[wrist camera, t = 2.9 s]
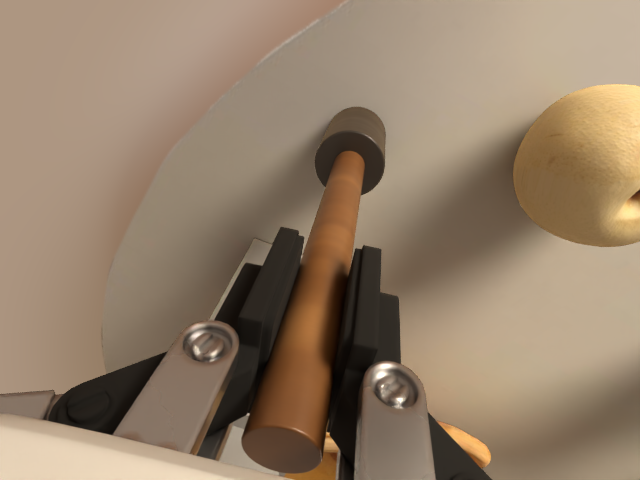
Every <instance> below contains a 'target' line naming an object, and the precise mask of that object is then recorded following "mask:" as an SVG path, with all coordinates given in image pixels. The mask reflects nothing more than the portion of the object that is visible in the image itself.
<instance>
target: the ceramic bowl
mask: <svg viewBox="0 0 640 480" xmlns="http://www.w3.org/2000/svg"><path fill="white" fill-rule="evenodd" d="M437 422H438V423H439V424H440V425H441V426H442V428H443V429H444V430H445V431H446V432H447V433H448V434H449V435H450V436H451V437H452V438H453V439H454V440H455V441H456V442H457V443H458V444H459V445H460V446H461V448H462V449H463V450H464V451H465V452H466V453H467V454H468V455H469V456H470V457H471V458H472V459H473V460H474V461H475V462H476V463H477V464H478V465H479V467H480V468H483V467H485V466H487V465H488V464H489V462H490V459H491V456H490V451H489V450H488V448H487V446H486V445H485V444H484V443H482V442H481V441H479V440H478V439H476V438H474V437H473V436H471V435H469V434H467V433H466V432H464V431H462V430H460V429H458V428H456V427H454V426H452V425H449V424H446V423H443V422H439V421H437ZM327 426H328V425H327ZM329 434H330V433H328V432H326V438H325V445H324V452H323V458H322V461H321V463H320V464H319V465H318V466H317V467H316V468H315V469H313V470H311V471H309V472H305V473H299V474H289V473H286V474H285V476H284V477H285V478H289V479H293V480H335V476H336V464H337V454H338V450H339V448H338V446H337V445H336V444H335V442H334V441H333V439H332V438H331V437H330V435H329Z"/></svg>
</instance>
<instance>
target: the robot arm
mask: <svg viewBox="0 0 640 480" xmlns="http://www.w3.org/2000/svg"><path fill="white" fill-rule="evenodd" d="M298 234H299V231H298V230H293V229H289V228H284V227H281V228H280V230H279V232H278V234H277V236H276V238H275V240H274V242H273V245H272V247H271V249H270V251H269V253H268V255H267V257H266V259H265V261H264V264H263V266H261V265H257V264H252V263H248V262H246V263H245V264H244V266H243V267H242V269H241V271H240V273H239V275H238V277H237V278H236V280H235V282H234V284H233V286H232V288H231V290H230V291H229V293H228V295H227V297H226V299H225V301H224V302H223V304H222V306H221V308H220V310H219V312H218V313H217V315H216V317H215V319H214V320H206V321H200V322H197V323H193V324H191V325H190V326H188V327H186V328H185V329H184V330H183V331H182V332H181V333H180V334H179V335H178V337H177V338H176V340H175V341H174V343H173V344H172V346H171V347H170V349H169V350H168V351H167V352H165V353H162V354H159V355H157V356H154V357H151V358H149V359H146V360H143V361H141V362H138V363H135V364H132V365H130V366H127V367H124V368H122V369H119V370H116V371H114V372H111V373H108V374H106V375H103V376H100V377H98V378H95V379H92V380H90V381H87V382H84V383H82V384H80V385H78V386H76V387H73V388H71V389H70V390H69V391H67V392H66V393H65V394H59V395H55V392H54V390H49V391H36V392H22V393H9V394H0V480H293V479H289V478H285V477H281V476H277V475H273V474H269V473H265V472H261V471H257V470H253V469H249V468H245V467H240V466H236V465H232V464H228V463H224V462H220V461H219V460H220V457H221V455H222V452H223V450H224V447H225V445H226V442H227V440H228V437H229V435H230V432H231V430H232V426H233V422H234V421H236V420H238V419H240V418H242V417H244V416H246V415H247V413H250V411H251V408H252V405H253V402H254V399H255V396H256V393H257V390H258V387H259V384H260V381H261V378H262V375H263V372H264V369H265V366H266V364H267V363H268V360H269V357H270V354H271V351H272V348H273V345H274V342H275V339H276V336H277V333H278V330H279V327H280V324H281V321H282V318H283V315H284V312H285V309H286V306H287V303H288V300H289V297H290V294H291V291H292V288H293V285H294V282H295V279H296V276H297V273H298V270H299V267H300V261H301V255H302V249H303V243H304V237H303V236H299V235H298ZM380 277H381V249H379V248H374V247H370V246H365V245H363V248H362V249H357V248H356V249H355V252H354V256H353V260H352V264H351V267H350V271H349V275H348V281H347V287H346V294H345V301H344V307H343V314H342V321H341V327H340V334H339V341H338V347H337V354H336V361H335V368H334V374H333V381H334V383H333V390H332V397H331V404H330V411H329V418H328V426H327V432H328V433H330V434H329V435H330V437H331V438H332V439H333V441H334V442H335V444H336V445H337V446H338V448H339V450H338V454H337V464H336V476H335V480H492V479H491V478H490V477H489V476H488V475H487V474H486V473H485V472H484V471H483V470H482V469H481V468H480V467H479V465H478V464H477V463H476V462H475V461H474V460H473V459H472V458H471V457H470V456H469V455H468V454H467V453H466V452H465V451H464V450H463V449H462V448H461V446H460V445H459V444H458V443H457V442H456V441H455V440H454V439H453V438H452V437H451V436H450V435H449V434H448V433H447V432H446V431H445V430H444V429H443V428H442V426H441V425H440V424H439V423H438V422H437V421H436V420H435V419H434V418H433V417H432V416H431V415H430V414H429V413H428V412H427V404H426V396H425V391H424V387H423V384H422V383H421V381H420V379H419V378H418V376H417V375H416V374H415V373H413V372H412V371H411V370H410V369H409V368H407V367H405V366H404V365H402V364H401V353H400V319H399V298H398V296H394V295H389V294H385V293H380Z"/></svg>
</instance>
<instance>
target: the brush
mask: <svg viewBox="0 0 640 480" xmlns="http://www.w3.org/2000/svg"><path fill="white" fill-rule="evenodd" d="M385 138H386V134H385V128H384V125H383V123H382V121H381V120H380V118H379V117H378V116H377V115H376V114H375V113H374V112H372V111H370V110H368V109H366V108H362V107H351V108H347V109H344V110H342V111H341V112H339V113H338V114H337V115H336V116H335V117H334V118H333V119H332V121H331V123H330V124H329V127H328V129H327V131H326V133H325V135H324V137H323V139H322V141H321V144H320V146H319V148H318V150H317V153H316V156H315V169H316V173H317V176H318V178H319V180H320V181H321V183H322V184H323V185H324V186H325V190H324V193H323V196H322V199H321V202H320V205H319V208H318V211H317V214H316V217H315V220H314V223H313V226H312V229H311V232H310V235H309V238H308V241H307V244H306V247H305V250H304V253H303V256H302V259H301V262H300V267H299V270H298V273H297V276H296V279H295V282H294V285H293V288H292V291H291V294H290V297H289V300H288V303H287V306H286V309H285V312H284V315H283V318H282V321H281V324H280V327H279V330H278V333H277V336H276V339H275V342H274V345H273V348H272V351H271V354H270V357H269V360H268V363H267V364H266V366H265V369H264V372H263V375H262V378H261V381H260V384H259V387H258V390H257V393H256V396H255V399H254V402H253V405H252V408H251V411H250V414H249V417H248V420H247V423H246V426H245V429H244V432H243V435H242V438H241V444H242V448H243V450H244V452H245V453H246V454H247V456H248V457H249V458H250V459H252V460H253V461H254V462H256V463H257V464H259V465H261V466H263V467H265V468H267V469H270V470H273V471H277V472H281V473H289V474H299V473H305V472H309V471H311V470H313V469H315V468H316V467H317V466H318V465H319V464H320V463H321V461H322V458H323V452H324V445H325V438H326V432H327V425H328V418H329V411H330V404H331V397H332V390H333V383H334V381H333V374H334V368H335V361H336V354H337V347H338V341H339V334H340V327H341V321H342V314H343V307H344V301H345V294H346V287H347V281H348V275H349V271H350V266H351V259H352V252H353V245H354V238H355V231H356V224H357V217H358V210H359V204H360V197H361V195H363V194H366V193H368V192H369V191H371V190H372V189H373V188H374V187H375V186H376V185H377V184H378V183H379V182H380V180H381V178H382V176H383V173H384V168H385Z"/></svg>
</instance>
